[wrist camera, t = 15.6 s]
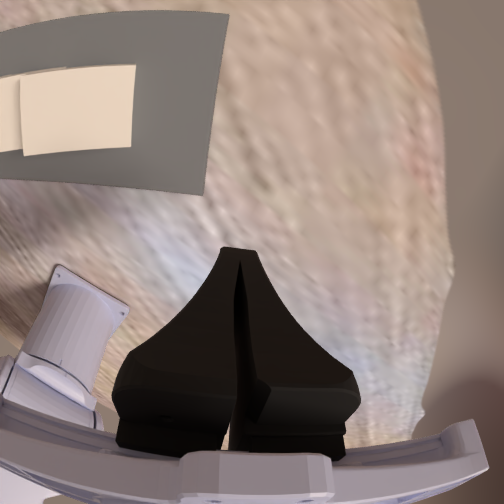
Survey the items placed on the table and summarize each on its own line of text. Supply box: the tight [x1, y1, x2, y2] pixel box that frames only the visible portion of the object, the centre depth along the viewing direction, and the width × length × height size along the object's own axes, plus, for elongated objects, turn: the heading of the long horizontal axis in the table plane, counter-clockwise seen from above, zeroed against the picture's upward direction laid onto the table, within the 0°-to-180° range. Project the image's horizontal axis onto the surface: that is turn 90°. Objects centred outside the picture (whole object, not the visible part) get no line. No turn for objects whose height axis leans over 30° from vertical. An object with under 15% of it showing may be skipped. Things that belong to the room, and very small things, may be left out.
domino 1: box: [0, 67, 66, 152], centre depth 15 cm, size 2×5×7 cm
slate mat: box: [0, 10, 229, 196], centre depth 16 cm, size 28×12×1 cm, turn 80°
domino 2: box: [20, 64, 136, 156], centre depth 15 cm, size 2×5×7 cm
